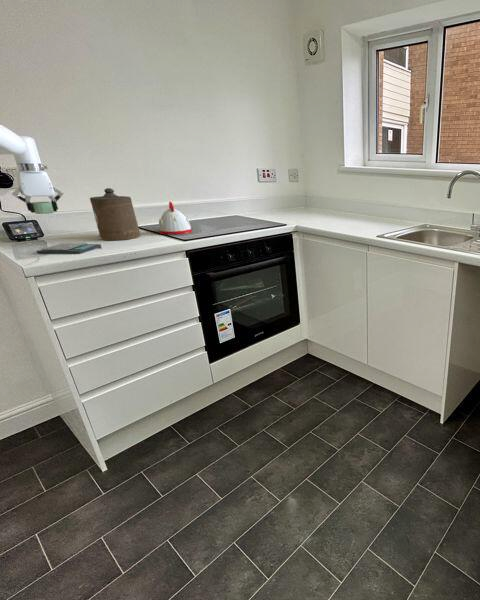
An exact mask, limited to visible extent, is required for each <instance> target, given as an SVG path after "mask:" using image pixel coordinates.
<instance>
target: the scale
mask: <svg viewBox="0 0 480 600" xmlns="http://www.w3.org/2000/svg"><path fill="white" fill-rule="evenodd" d="M96 249H100V250H101V249H102V244H101V243H87V242H60V243H58V244H54V245H50V246H47V247H44V248H41V249H40V250H36V253H37V255H81V254H84V253H87V252H90V251H93V250H96Z"/></svg>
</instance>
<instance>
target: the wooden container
mask: <svg viewBox="0 0 480 600" xmlns="http://www.w3.org/2000/svg"><path fill="white" fill-rule="evenodd" d="M103 192H104V195H101V196H92V197H91V196H90V197H89V200H90V205H91V208H92V212H93V215H94V219H95V224H96V226H97V231H98V234H99V237H100V240H103V241H126V240H134V239H137V238H140V237H141V232H140V229H139V223H138V220H137V216H136V212H135V209H134V205H133V201H132V198H131V196H124V195H117V194H115V190H114V189H113V188H111V187H107V188H105V189H104V190H103Z"/></svg>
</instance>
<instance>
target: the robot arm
mask: <svg viewBox="0 0 480 600" xmlns="http://www.w3.org/2000/svg"><path fill="white" fill-rule="evenodd" d="M0 155H13V158H14V162H15V163H16V164H15V165H16V167H17V171H15V175H16V181H17V185H18V187H17V188H16V189H14V191H13V192H12V193H11V195H12V196H13V197H15V198H17V199H18V200H20V201H22V202H23V203H25V205H26V208H27V211H28V212H30V213H31V214H35V213H34V210H33V206H32V203H31V198H32V197H48V198H49V200H50V202H52V205H53V208H54V212H55V213H57V212H58V210H59V207H58V203H57V202H58V201H59V200H60V199H61V197H63V195H64V192H62V191H61V190H59V189H57V188H56V187H54V186H53V183H52V181H51V178H50V177H49V174H48V173H47V171H45V170H48V169H49V168H48V166H47V165H44V164H43V163H42V161H41V157H40V154H39V150H38V147H37V143H36V141H35V138H33V137H31V136H26V135H19V134H17V133H15V132H14V131H12V130H10V129H9V128H7V127H6V126H4V125H2V124H0ZM56 193H57V194H56ZM19 194H21V195H22V196H21V195H19ZM55 194H56V195H55ZM23 196H24V197H23Z"/></svg>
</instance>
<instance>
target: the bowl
mask: <svg viewBox="0 0 480 600" xmlns="http://www.w3.org/2000/svg"><path fill="white" fill-rule="evenodd" d="M30 203H32V206H33V210H34V213H33V214H35V215H49V214H54V212H55V211H54V208H53V205H52V202H51V201H32V202H31V201H30Z"/></svg>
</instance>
